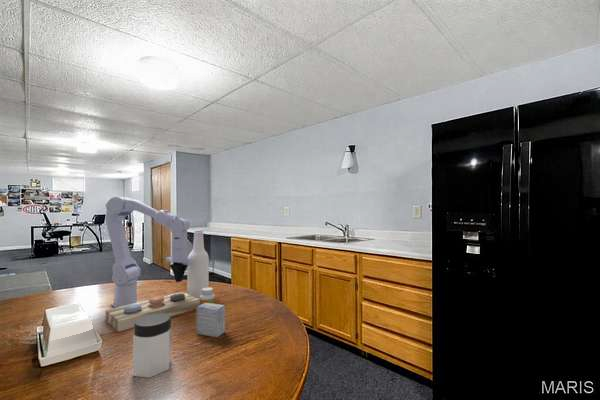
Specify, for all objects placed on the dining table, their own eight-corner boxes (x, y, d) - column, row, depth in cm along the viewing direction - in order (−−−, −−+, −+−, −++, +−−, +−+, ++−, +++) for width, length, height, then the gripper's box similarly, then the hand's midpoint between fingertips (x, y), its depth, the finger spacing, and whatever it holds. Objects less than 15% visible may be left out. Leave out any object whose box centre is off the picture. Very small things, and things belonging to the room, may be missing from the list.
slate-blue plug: (121, 320, 97) (121, 306, 97) (137, 316, 101) (138, 303, 101) (126, 324, 94) (127, 310, 94) (143, 319, 98) (143, 306, 98)
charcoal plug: (167, 307, 109) (168, 295, 109) (180, 304, 113) (180, 292, 113) (173, 311, 106) (174, 298, 106) (187, 307, 110) (187, 295, 110)
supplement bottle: (210, 318, 100) (210, 291, 100) (196, 317, 101) (196, 290, 101) (217, 313, 105) (217, 287, 105) (204, 311, 106) (204, 286, 106)
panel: (105, 320, 98) (105, 310, 98) (182, 299, 119) (182, 291, 119) (118, 331, 89) (118, 320, 89) (199, 307, 110) (199, 298, 110)
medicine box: (225, 332, 89) (225, 304, 89) (217, 338, 85) (217, 309, 85) (205, 328, 92) (205, 302, 92) (196, 334, 87) (196, 306, 88)
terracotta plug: (146, 311, 103) (146, 298, 103) (160, 307, 107) (160, 295, 107) (151, 314, 100) (152, 301, 100) (166, 310, 104) (166, 297, 104)
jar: (163, 354, 75) (164, 310, 76) (177, 366, 70) (178, 318, 70) (126, 369, 68) (127, 320, 69) (139, 383, 63) (140, 330, 63)
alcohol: (182, 299, 120) (183, 230, 121) (197, 293, 128) (198, 228, 129) (198, 302, 117) (199, 230, 117) (212, 295, 125) (213, 229, 125)
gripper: (159, 247, 113) (158, 281, 113) (182, 250, 106) (181, 286, 106) (174, 245, 119) (174, 277, 119) (197, 248, 112) (197, 282, 112)
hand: (178, 281), depth 113 cm, fingers closed
